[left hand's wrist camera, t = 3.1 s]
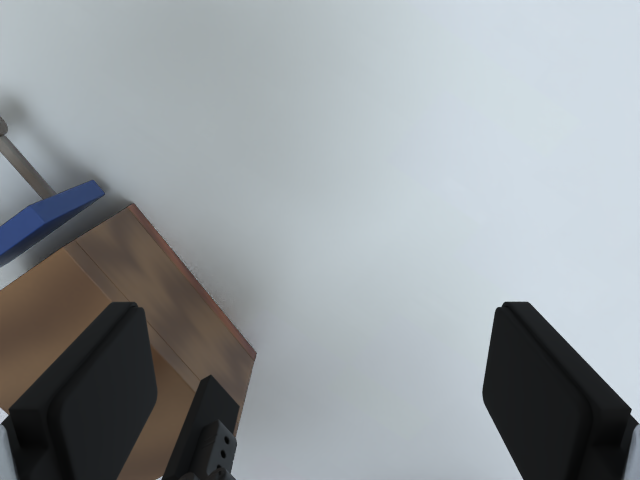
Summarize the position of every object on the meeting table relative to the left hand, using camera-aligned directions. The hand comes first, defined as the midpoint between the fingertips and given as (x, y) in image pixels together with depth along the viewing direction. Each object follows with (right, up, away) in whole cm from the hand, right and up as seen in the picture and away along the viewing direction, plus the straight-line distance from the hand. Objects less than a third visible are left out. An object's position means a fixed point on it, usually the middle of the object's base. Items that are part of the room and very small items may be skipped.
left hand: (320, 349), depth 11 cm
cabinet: (-14, -3, +22) cm, 26 cm away
